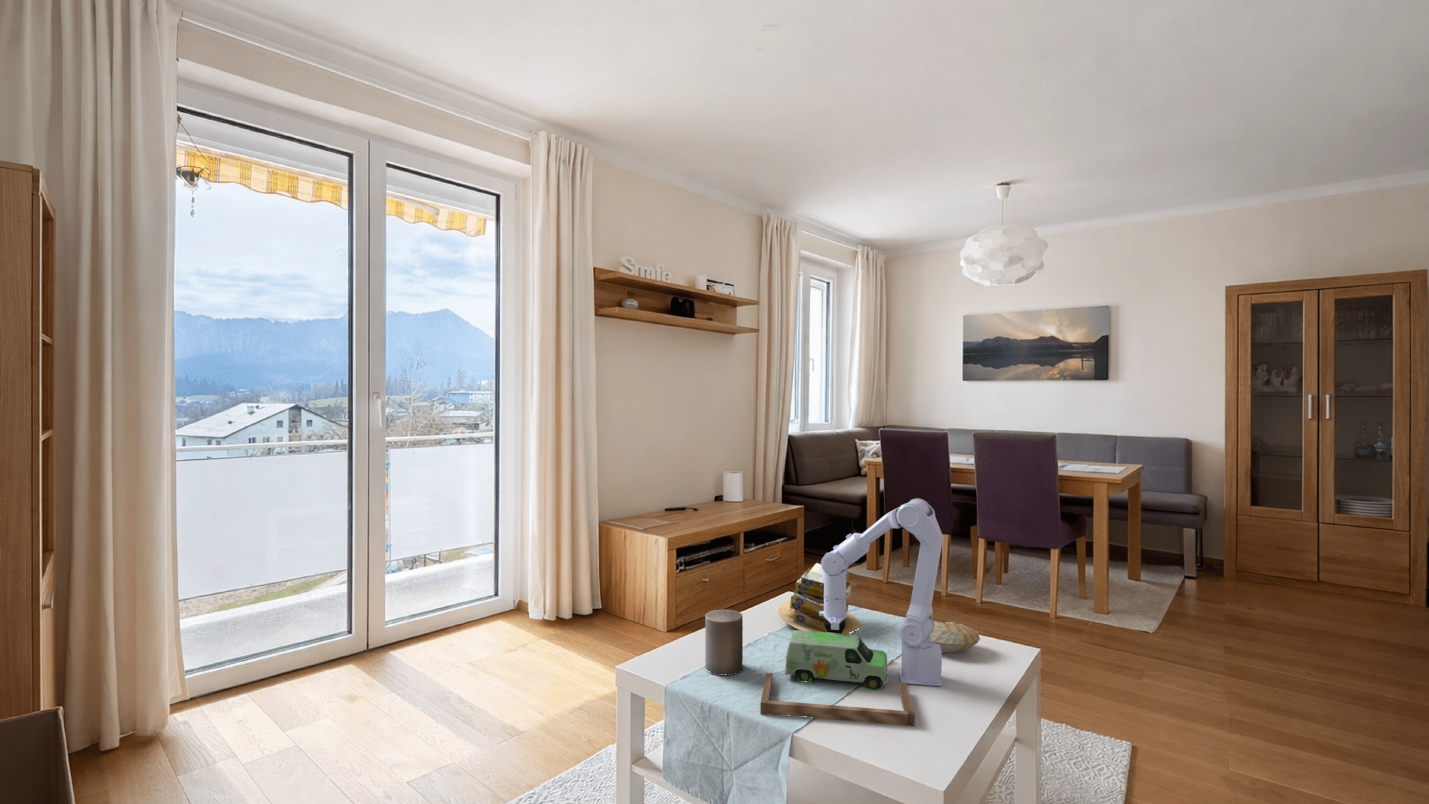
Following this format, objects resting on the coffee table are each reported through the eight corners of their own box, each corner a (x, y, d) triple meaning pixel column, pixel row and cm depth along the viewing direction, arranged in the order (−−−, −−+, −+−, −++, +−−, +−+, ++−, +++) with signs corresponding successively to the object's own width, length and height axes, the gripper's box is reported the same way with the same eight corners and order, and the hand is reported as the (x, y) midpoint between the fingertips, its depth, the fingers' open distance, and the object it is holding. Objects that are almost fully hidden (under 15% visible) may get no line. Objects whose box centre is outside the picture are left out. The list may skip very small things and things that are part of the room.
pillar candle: (750, 667, 179) (750, 609, 179) (725, 679, 172) (725, 618, 172) (722, 658, 186) (722, 601, 185) (696, 669, 178) (696, 610, 178)
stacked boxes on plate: (875, 622, 213) (876, 568, 213) (830, 645, 195) (831, 585, 195) (808, 605, 230) (809, 554, 230) (761, 623, 212) (762, 569, 211)
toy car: (887, 692, 166) (888, 650, 166) (783, 681, 172) (784, 641, 171) (887, 674, 176) (887, 634, 176) (789, 664, 182) (789, 626, 182)
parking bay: (906, 693, 165) (906, 682, 165) (914, 726, 149) (914, 714, 149) (766, 683, 170) (766, 672, 170) (760, 713, 154) (760, 702, 154)
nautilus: (889, 647, 195) (914, 635, 206) (965, 663, 181) (987, 650, 192) (889, 618, 196) (914, 608, 207) (964, 632, 181) (986, 621, 192)
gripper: (819, 587, 192) (819, 636, 192) (819, 604, 177) (818, 657, 178) (845, 588, 190) (845, 638, 191) (847, 605, 176) (846, 659, 177)
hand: (834, 647), depth 184 cm, fingers closed
